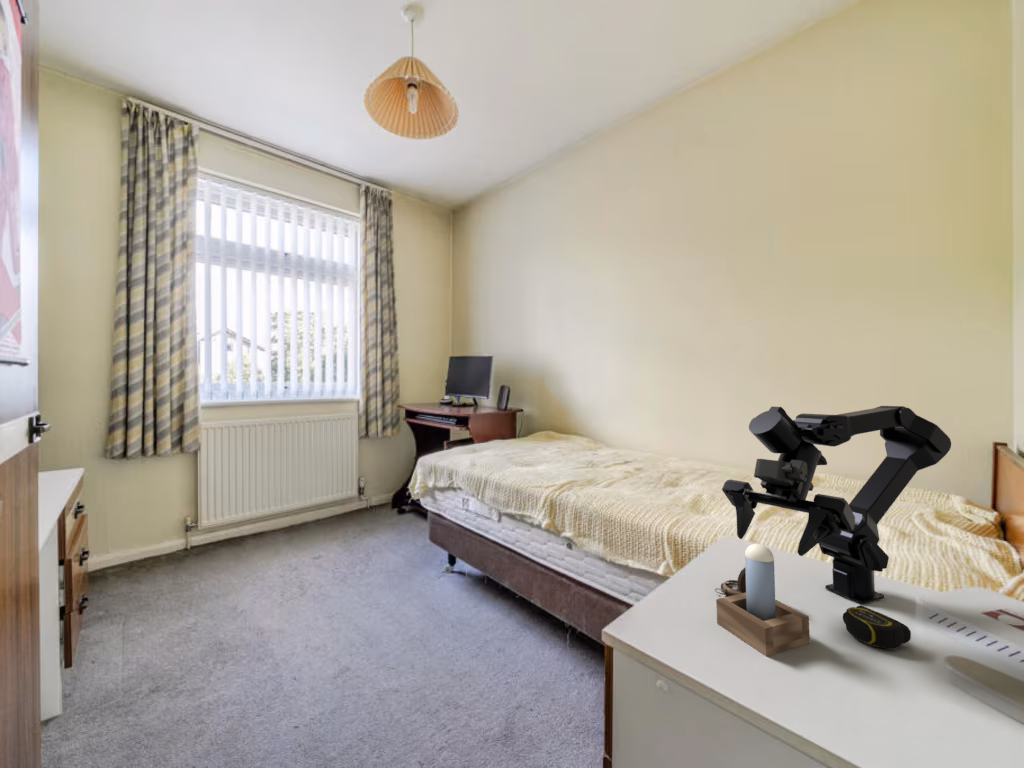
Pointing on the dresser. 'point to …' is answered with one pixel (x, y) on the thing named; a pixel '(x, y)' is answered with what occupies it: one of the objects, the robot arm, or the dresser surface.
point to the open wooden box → (763, 625)
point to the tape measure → (875, 628)
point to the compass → (734, 585)
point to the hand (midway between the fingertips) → (767, 545)
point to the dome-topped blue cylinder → (760, 582)
